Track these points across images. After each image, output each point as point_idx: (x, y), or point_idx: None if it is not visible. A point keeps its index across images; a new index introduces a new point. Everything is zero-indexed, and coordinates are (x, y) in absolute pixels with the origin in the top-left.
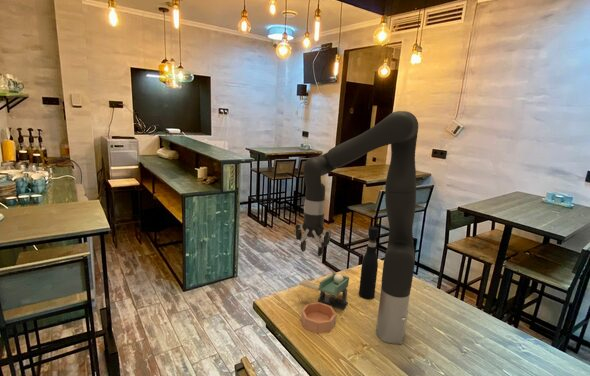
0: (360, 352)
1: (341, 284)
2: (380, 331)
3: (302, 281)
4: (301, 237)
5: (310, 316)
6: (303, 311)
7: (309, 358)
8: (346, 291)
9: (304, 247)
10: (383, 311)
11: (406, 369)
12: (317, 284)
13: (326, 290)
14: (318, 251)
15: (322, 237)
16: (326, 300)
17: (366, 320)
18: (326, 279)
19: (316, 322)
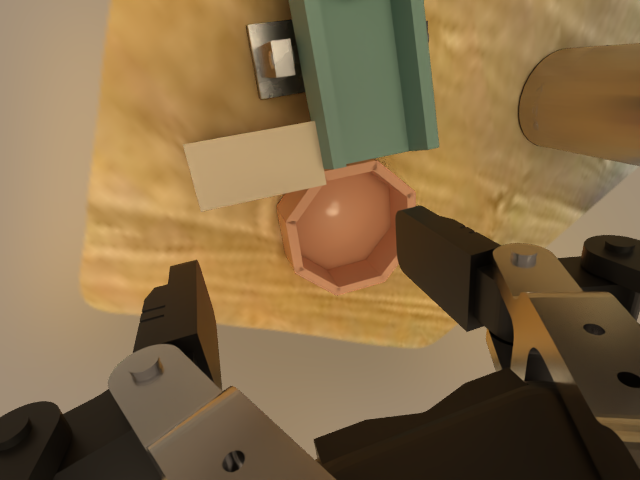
0: (494, 234)
1: (430, 68)
2: (554, 147)
3: (200, 181)
4: (121, 476)
5: (305, 220)
6: (306, 272)
7: (395, 342)
8: (428, 41)
9: (208, 317)
10: (637, 163)
11: (593, 202)
12: (286, 131)
13: (365, 159)
14: (435, 293)
15: (612, 304)
16: (299, 75)
17: (479, 75)
18: (328, 77)
19: (378, 282)
